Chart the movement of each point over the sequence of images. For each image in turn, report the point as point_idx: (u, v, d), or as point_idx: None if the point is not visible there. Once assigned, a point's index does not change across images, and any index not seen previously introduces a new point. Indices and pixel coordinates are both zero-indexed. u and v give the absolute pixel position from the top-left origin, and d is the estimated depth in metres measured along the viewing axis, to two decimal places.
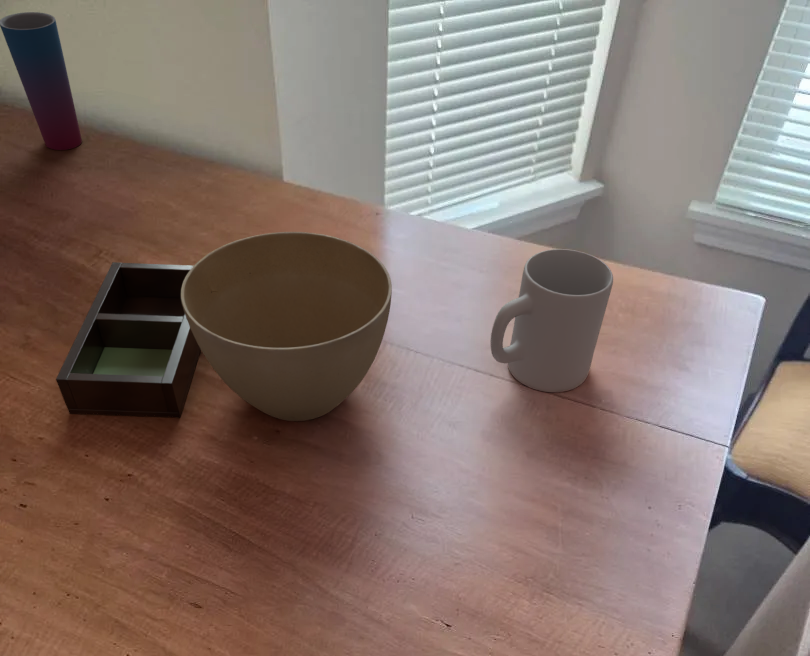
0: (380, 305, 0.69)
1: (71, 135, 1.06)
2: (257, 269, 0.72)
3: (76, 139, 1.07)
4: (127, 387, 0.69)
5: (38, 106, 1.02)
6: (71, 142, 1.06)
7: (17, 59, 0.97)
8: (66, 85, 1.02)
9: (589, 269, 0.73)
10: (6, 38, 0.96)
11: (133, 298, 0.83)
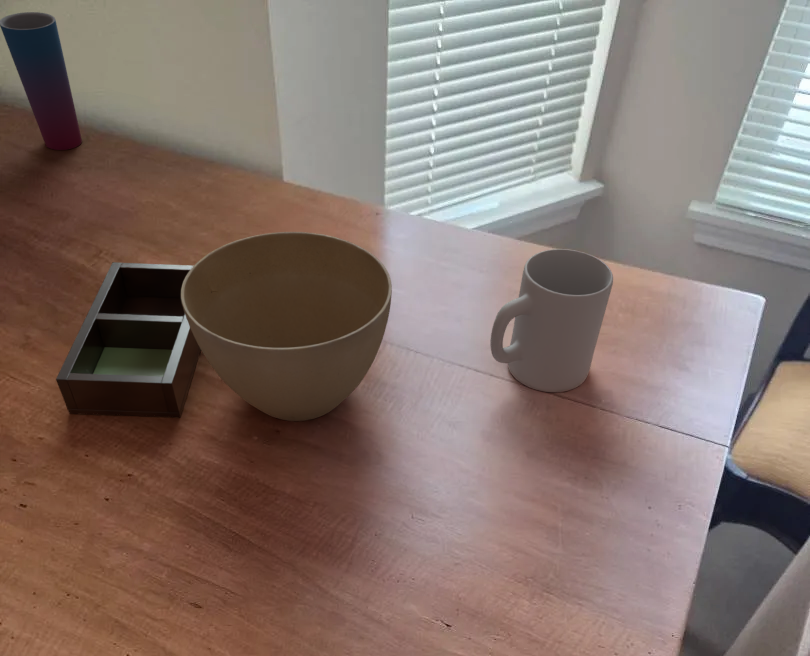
0: (380, 305, 0.69)
1: (71, 135, 1.06)
2: (257, 269, 0.72)
3: (76, 139, 1.07)
4: (127, 387, 0.69)
5: (38, 106, 1.02)
6: (71, 142, 1.06)
7: (17, 59, 0.97)
8: (66, 85, 1.02)
9: (589, 269, 0.73)
10: (6, 38, 0.96)
11: (133, 298, 0.83)
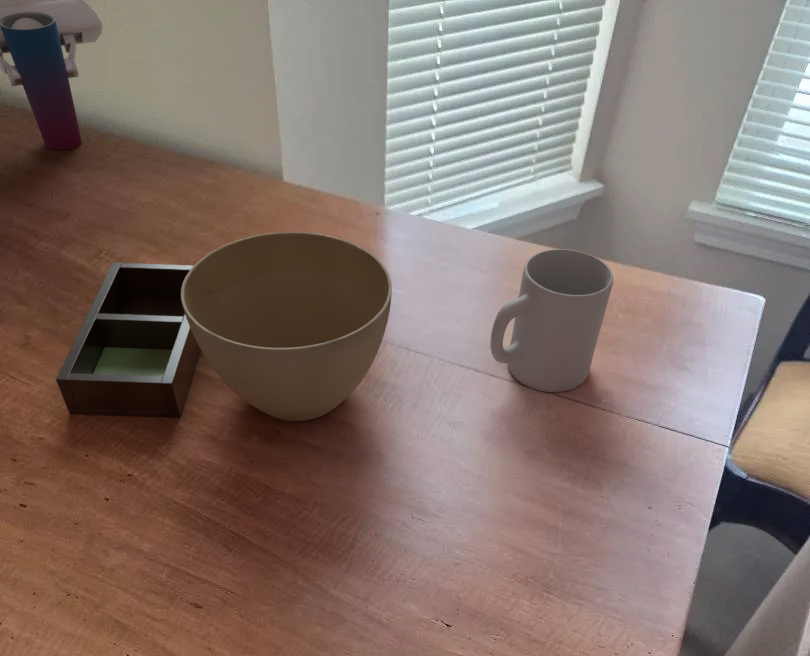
0: (380, 305, 0.69)
1: (71, 135, 1.06)
2: (257, 269, 0.72)
3: (76, 139, 1.07)
4: (127, 387, 0.69)
5: (38, 106, 1.02)
6: (71, 142, 1.06)
7: (17, 59, 0.97)
8: (66, 85, 1.02)
9: (589, 269, 0.73)
10: (6, 38, 0.96)
11: (133, 298, 0.83)
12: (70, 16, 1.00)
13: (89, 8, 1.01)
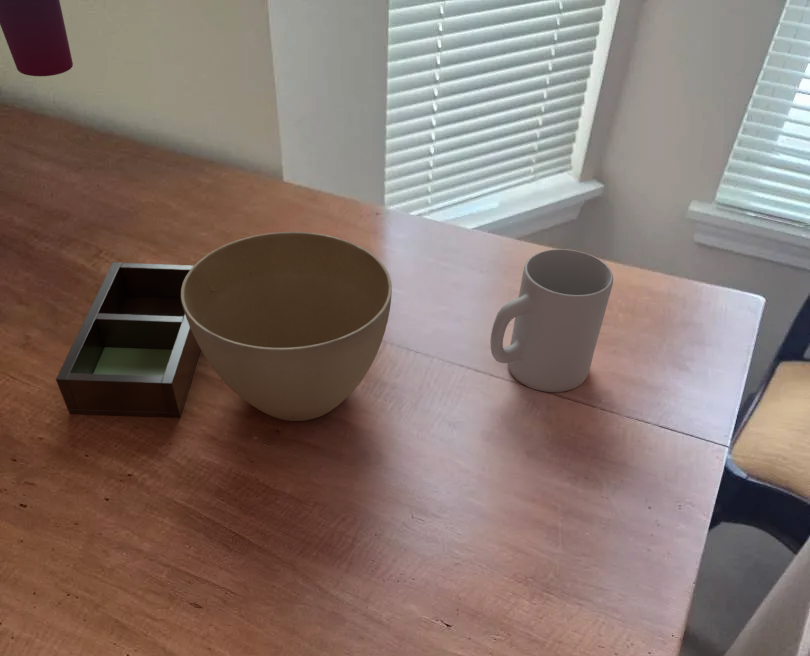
0: (380, 305, 0.69)
1: (56, 53, 0.69)
2: (257, 269, 0.72)
3: (64, 60, 0.70)
4: (127, 387, 0.69)
5: (4, 2, 0.65)
6: (56, 64, 0.69)
7: None
8: None
9: (589, 269, 0.73)
10: None
11: (133, 298, 0.83)
12: None
13: None
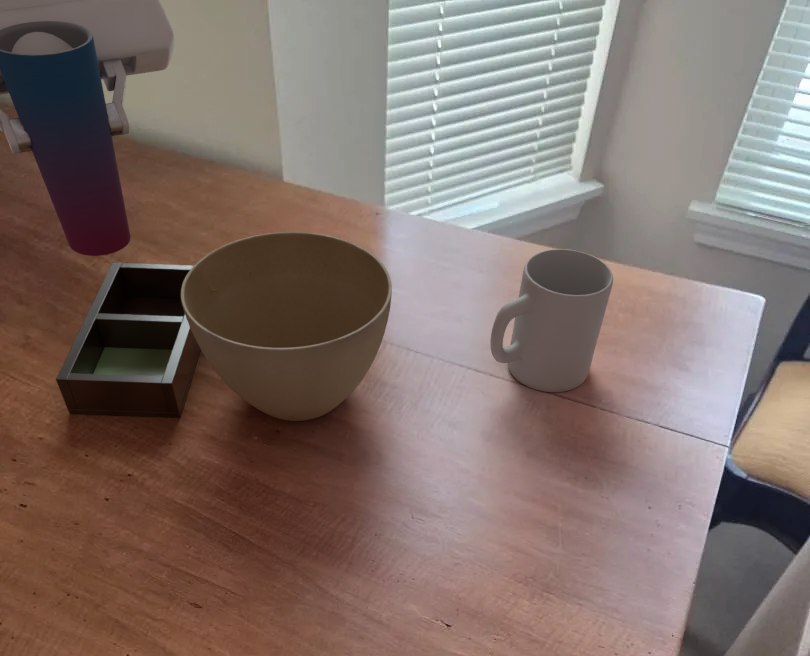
0: (380, 305, 0.69)
1: (114, 231, 0.62)
2: (257, 269, 0.72)
3: (122, 237, 0.62)
4: (127, 387, 0.69)
5: (59, 187, 0.58)
6: (114, 243, 0.62)
7: (23, 107, 0.53)
8: (109, 150, 0.58)
9: (589, 269, 0.73)
10: (3, 70, 0.52)
11: (133, 298, 0.83)
12: (117, 29, 0.56)
13: (149, 14, 0.57)
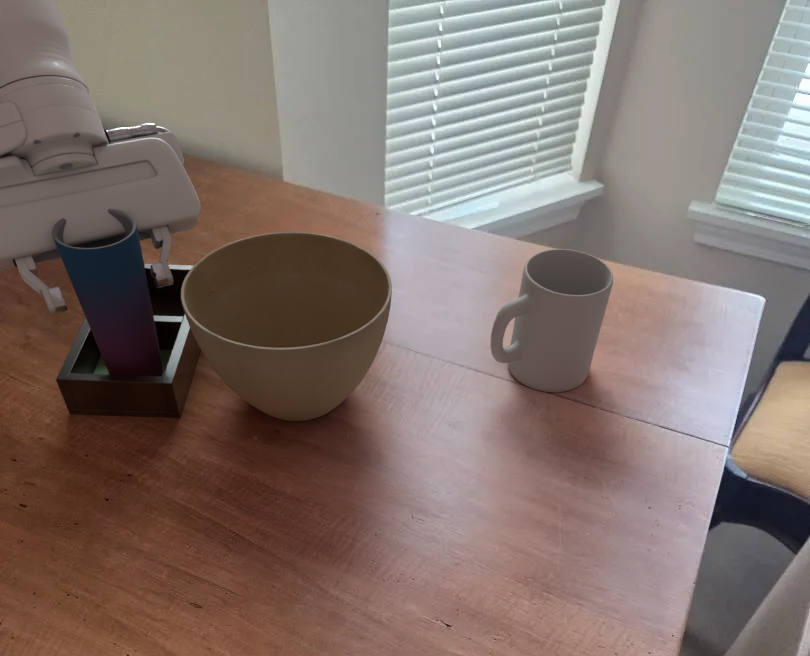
0: (380, 305, 0.69)
1: (150, 369, 0.72)
2: (257, 269, 0.72)
3: (157, 372, 0.73)
4: (127, 387, 0.69)
5: (106, 340, 0.68)
6: None
7: (78, 283, 0.64)
8: (147, 308, 0.68)
9: (589, 269, 0.73)
10: (63, 256, 0.62)
11: None
12: (153, 204, 0.66)
13: (180, 189, 0.67)
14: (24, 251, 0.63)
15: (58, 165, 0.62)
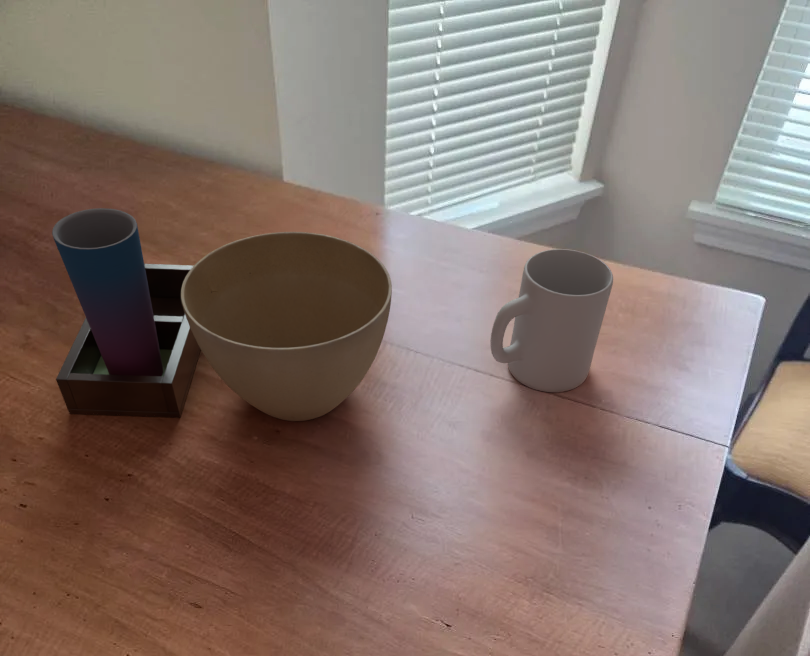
0: (380, 305, 0.69)
1: (150, 369, 0.72)
2: (257, 269, 0.72)
3: (157, 372, 0.73)
4: (127, 387, 0.69)
5: (106, 340, 0.68)
6: None
7: (79, 283, 0.64)
8: (148, 308, 0.68)
9: (589, 269, 0.73)
10: (63, 256, 0.62)
11: None
12: None
13: None
14: None
15: None
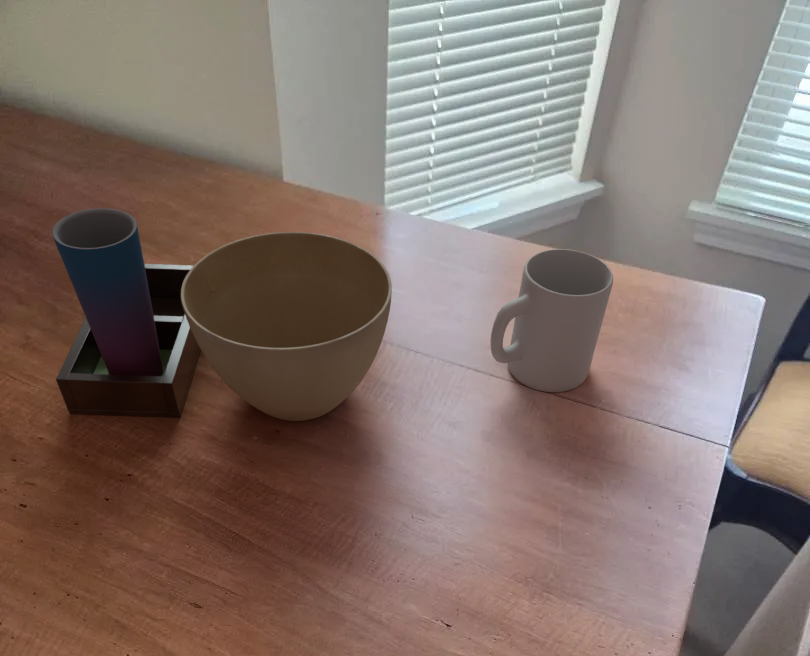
0: (380, 305, 0.69)
1: (150, 369, 0.72)
2: (257, 269, 0.72)
3: (157, 372, 0.73)
4: (127, 387, 0.69)
5: (106, 340, 0.68)
6: None
7: (79, 283, 0.64)
8: (148, 308, 0.68)
9: (589, 269, 0.73)
10: (63, 256, 0.62)
11: None
12: None
13: None
14: None
15: None
